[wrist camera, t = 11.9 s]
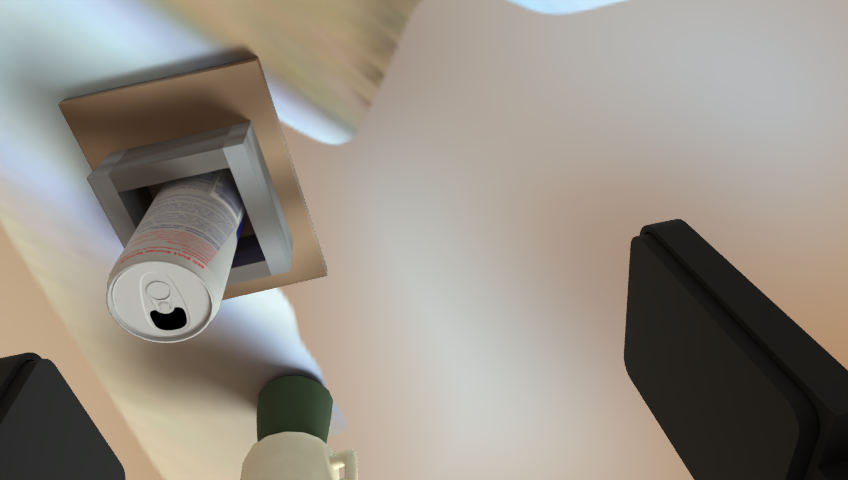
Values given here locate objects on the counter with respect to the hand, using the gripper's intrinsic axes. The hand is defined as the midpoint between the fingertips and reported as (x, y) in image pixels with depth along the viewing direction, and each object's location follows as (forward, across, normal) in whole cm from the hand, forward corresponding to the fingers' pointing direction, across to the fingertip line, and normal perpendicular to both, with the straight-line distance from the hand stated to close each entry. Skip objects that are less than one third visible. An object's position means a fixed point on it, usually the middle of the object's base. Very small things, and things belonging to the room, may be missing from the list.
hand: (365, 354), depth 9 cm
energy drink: (+29, +11, +10) cm, 32 cm away
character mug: (+30, +10, +30) cm, 43 cm away
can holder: (+30, +11, +10) cm, 33 cm away
